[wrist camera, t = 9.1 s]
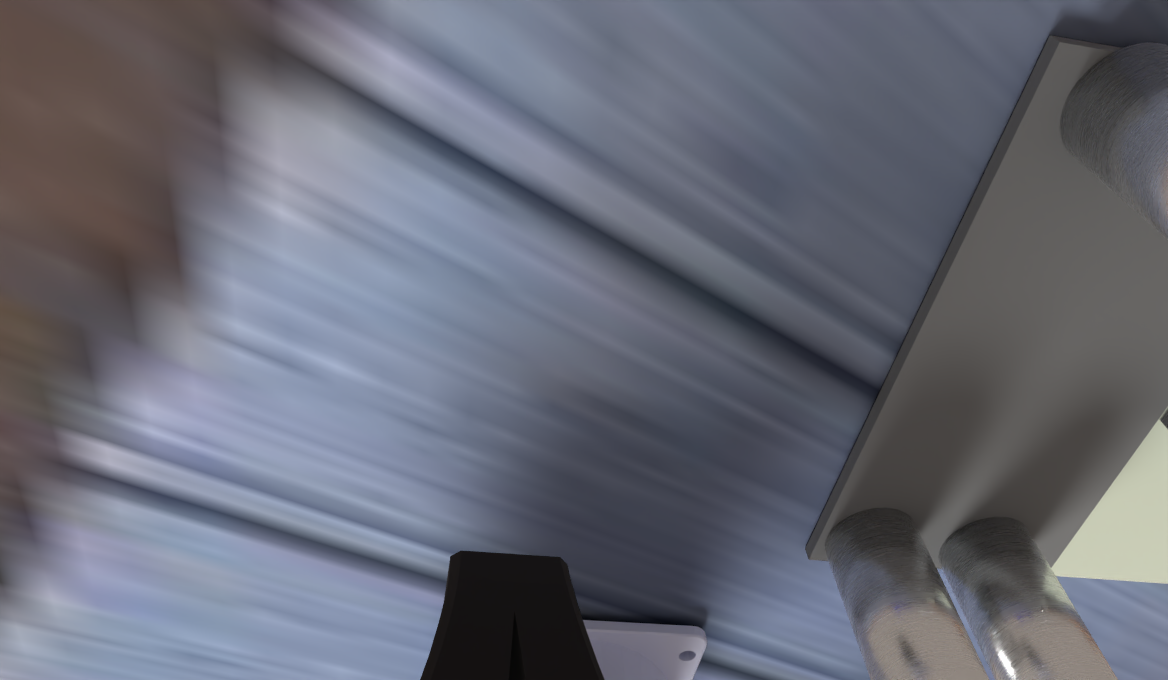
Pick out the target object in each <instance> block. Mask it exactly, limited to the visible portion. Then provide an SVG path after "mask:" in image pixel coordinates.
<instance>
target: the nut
mask: <svg viewBox="0 0 1168 680" xmlns="http://www.w3.org/2000/svg"><path fill="white" fill-rule="evenodd" d="M1159 420H1160V421H1161V422H1162V423H1163V424H1164V425H1165V427H1166V428H1167V429H1168V408H1167V410H1166V411H1165V412H1164V414H1163V415H1162V417H1161V418H1160V419H1159Z"/></svg>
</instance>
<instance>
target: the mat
mask: <svg viewBox="0 0 1168 680" xmlns="http://www.w3.org/2000/svg"><path fill="white" fill-rule="evenodd" d="M1119 49H1121V48H1120V47H1115V46H1109V45H1103V44H1097V43H1092V42H1086V41H1080V40H1074V39H1069V38H1063V37H1057V36H1051V35H1050V36H1049V38H1048V40H1047V42H1046V44H1045V46H1044V49H1043V51H1042V53H1041V55H1040V57H1039V59H1038V61H1037V63H1036V65H1035V67H1034V70H1033V72H1032V74H1031V76H1030V78H1029V80H1028V82H1027V84H1026V86H1025V88H1024V91H1023V93H1022V95H1021V97H1020V99H1019V101H1018V103H1017V105H1016V107H1015V109H1014V112H1013V114H1012V116H1011V118H1010V120H1009V122H1008V124H1007V126H1006V128H1005V130H1004V133H1003V135H1002V137H1001V139H1000V141H999V143H998V145H997V147H996V149H995V151H994V154H993V156H992V158H991V160H990V162H989V164H988V166H987V168H986V170H985V172H984V175H983V177H982V179H981V181H980V183H979V185H978V187H977V189H976V191H975V193H974V195H973V198H972V200H971V202H970V204H969V206H968V208H967V210H966V212H965V214H964V216H963V219H962V221H961V223H960V225H959V227H958V229H957V231H956V233H955V235H954V237H953V240H952V242H951V244H950V246H949V248H948V250H947V252H946V254H945V256H944V258H943V261H942V263H941V265H940V267H939V269H938V271H937V273H936V275H935V277H934V279H933V282H932V284H931V286H930V288H929V290H928V292H927V294H926V296H925V298H924V300H923V303H922V305H921V307H920V309H919V311H918V313H917V315H916V317H915V319H914V321H913V324H912V326H911V328H910V330H909V332H908V334H907V336H906V338H905V340H904V342H903V345H902V347H901V349H900V351H899V353H898V355H897V357H896V359H895V361H894V363H893V366H892V368H891V370H890V372H889V374H888V376H887V378H886V380H885V382H884V384H883V386H882V389H881V391H880V393H879V395H878V397H877V399H876V401H875V403H874V405H873V407H872V410H871V412H870V414H869V416H868V418H867V420H866V422H865V424H864V426H863V428H862V431H861V433H860V435H859V437H858V439H857V441H856V443H855V445H854V447H853V449H852V452H851V454H850V456H849V458H848V460H847V462H846V464H845V466H844V468H843V470H842V473H841V475H840V477H839V479H838V481H837V483H836V485H835V487H834V489H833V491H832V494H831V496H830V498H829V500H828V502H827V504H826V506H825V508H824V510H823V512H822V515H821V517H820V519H819V521H818V523H817V525H816V527H815V529H814V531H813V533H812V536H811V538H810V540H809V542H808V544H807V546H806V548H805V550H806V553H807V556H808V559H809V560H822V561H828V559H827V556H826V553H825V540H826V538H827V536H828V534H829V532H830V531H831V530H832V529H833V528H834V527H835V526H836V525H837V524H838V523H839V522H840V521H842V520H843V519H845V518H846V517H848V516H850V515H852V514H854V513H857V512H860V511H863V510H867V509H872V508H893V509H897V510H900V511H903V512H905V513H906V514H908V515H909V516H910V517H911V518H912V519H913V520H914V522H915V524H916V526H917V528H918V530H919V532H920V535H921V537H922V539H923V541H924V543H925V545H926V547H927V549H928V551H929V554H930V556H931V558H932V560H933V562H934V564H935V566H936V568H939V569H942V567H941V565H940V563H939V558H938V556H939V551H940V548H941V546H942V544H943V543H944V542H945V540H946V539H947V538H948V537H949V536H950V535H951V534H952V533H954V532H955V531H956V530H958V529H959V528H961V527H963V526H965V525H967V524H969V523H971V522H974V521H977V520H980V519H984V518H990V517H1008V518H1012V519H1015V520H1018V521H1020V522H1021V523H1023V524H1024V525H1025V526H1026V528H1027V529H1028V531H1029V532H1030V534H1031V536H1032V537H1033V539H1034V541H1035V542H1036V544H1037V546H1038V547H1039V549H1040V551H1041V552H1042V554H1043V556H1044V557H1045V559H1046V561H1047V562H1048V564H1049V566H1050V567H1051V569H1052V571H1053V572H1054V574H1055V576H1064V577H1079V578H1093V579H1108V580H1123V581H1137V582H1152V583H1167V584H1168V429H1167V428H1166V427H1165V425H1164V424H1163V423H1162V422H1161V421H1160V420H1159V419H1160V418H1161V417H1162V415H1163V414H1164V412H1165V411H1166V410H1167V408H1168V240H1167V239H1166V238H1165V237H1164V236H1163V235H1161V234H1160V233H1159V232H1158V231H1157V230H1156V229H1155V228H1153V227H1152V226H1151V225H1150V224H1149V223H1148V222H1147V221H1146V220H1144V219H1143V218H1142V217H1141V216H1140V215H1139V214H1138V213H1136V212H1135V211H1134V210H1133V209H1132V208H1131V207H1130V206H1128V205H1127V204H1126V203H1125V202H1124V201H1123V200H1122V199H1121V198H1119V197H1118V196H1117V195H1116V194H1115V193H1114V192H1113V191H1111V190H1110V189H1109V188H1108V187H1107V186H1106V185H1105V184H1103V183H1102V182H1101V181H1100V180H1099V179H1098V178H1097V177H1095V176H1094V175H1093V174H1092V173H1091V172H1090V171H1089V170H1088V169H1086V168H1085V167H1084V166H1083V165H1082V164H1081V163H1080V162H1078V161H1077V160H1076V159H1075V158H1074V157H1073V156H1072V155H1071V154H1069V152H1068V151H1067V150H1066V148H1065V147H1064V145H1063V143H1062V139H1061V136H1060V118H1061V113H1062V110H1063V106H1064V104H1065V102H1066V99H1067V97H1068V95H1069V94H1070V92H1071V90H1072V89H1073V87H1074V86H1075V84H1076V83H1077V82H1078V80H1079V79H1080V78H1081V77H1082V76H1083V75H1084V74H1085V73H1086V72H1087V71H1088V70H1089V69H1090V68H1091V67H1092V66H1093V65H1094V64H1096V63H1097V62H1098V61H1099V60H1101V59H1103V58H1104V57H1106V56H1107V55H1109V54H1111V53H1113V52H1115V51H1116V50H1119Z"/></svg>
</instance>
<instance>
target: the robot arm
mask: <svg viewBox="0 0 1168 680" xmlns="http://www.w3.org/2000/svg"><path fill="white" fill-rule="evenodd" d="M706 646H707V639H706V634H705V632H704V630H703V629H701V628H699V627H696V626H686V625H667V624H649V623H631V622H612V621H594V620H583V619H582V616H581V613H580V610H579V606H578V603H577V600H576V597H575V593H574V589H573V586H572V582H571V579H570V575H569V571H568V566H567V564H566V563H565V562H564V561H563V560H562V559H561V558H560V557H549V556H534V555H518V554H503V553H488V552H473V551H460V552H458V553H456V554H454V555H452V556H451V557H450V564H449V571H448V578H447V585H446V592H445V599H444V604H443V608H442V612H441V616H440V620H439V624H438V627H437V631H436V634H435V637H434V641H433V644H432V647H431V651H430V654H429V657H428V660H427V663H426V665H425V668H424V671H423V674H422V676H421V679H420V680H692V679H693V677H694V674H695V672H696V670H697V667H698V665H699V663H700V660H701V658H702V655H703V653H704V651H705V648H706Z"/></svg>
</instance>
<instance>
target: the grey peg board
mask: <svg viewBox="0 0 1168 680" xmlns="http://www.w3.org/2000/svg"><path fill="white" fill-rule="evenodd" d="M1060 136H1061V139H1062V143H1063V145H1064V147H1065V148H1066V150H1067V151H1068V152H1069V154H1071V155H1072V156H1073V157H1074V158H1075V159H1076V160H1077V161H1078V162H1080V163H1081V164H1082V165H1083V166H1084V167H1085V168H1086V169H1088V170H1089V171H1090V172H1091V173H1092V174H1093V175H1094V176H1095V177H1097V178H1098V179H1099V180H1100V181H1101V182H1102V183H1103V184H1105V185H1106V186H1107V187H1108V188H1109V189H1110V190H1111V191H1113V192H1114V193H1115V194H1116V195H1117V196H1118V197H1119V198H1121V199H1122V200H1123V201H1124V202H1125V203H1126V204H1127V205H1128V206H1130V207H1131V208H1132V209H1133V210H1134V211H1135V212H1136V213H1138V214H1139V215H1140V216H1141V217H1142V218H1143V219H1144V220H1146V221H1147V222H1148V223H1149V224H1150V225H1151V226H1152V227H1153V228H1155V229H1156V230H1157V231H1158V232H1159V233H1160V234H1161V235H1163V236H1164V237H1165V238H1166V239H1167V240H1168V45H1167V44H1163V43H1156V42H1144V43H1138V44H1133V45H1130V46H1126V47H1124V48H1121V49H1119V50H1116V51H1115V52H1113V53H1111V54H1109V55H1107V56H1106V57H1104V58H1103V59H1101V60H1099V61H1098V62H1097V63H1096V64H1094V65H1093V66H1092V67H1091V68H1090V69H1089V70H1088V71H1087V72H1086V73H1085V74H1084V75H1083V76H1082V77H1081V78H1080V79H1079V80H1078V82H1077V83H1076V84H1075V86H1074V87H1073V89H1072V90H1071V92H1070V94H1069V95H1068V97H1067V99H1066V102H1065V104H1064V106H1063V110H1062V113H1061V118H1060ZM825 553H826V556H827V559H828V561H829V564H830V567H831V570H832V573H833V575H834V578H835V581H836V584H837V587H838V589H839V592H840V595H841V598H842V601H843V603H844V606H845V609H846V612H847V615H848V617H849V620H850V623H851V626H852V629H853V631H854V634H855V637H856V640H857V642H858V645H859V648H860V651H861V654H862V656H863V659H864V662H865V665H866V668H867V670H868V673H869V676H870V679H871V680H989V678H988V676H987V674H986V672H985V670H984V668H983V665H982V663H981V661H980V659H979V657H978V655H977V653H976V651H975V649H974V646H973V644H972V642H971V640H970V638H969V636H968V634H967V632H966V630H965V627H964V625H963V623H962V621H961V619H960V617H959V615H958V613H957V611H956V608H955V606H954V604H953V602H952V600H951V598H950V596H949V594H948V592H947V589H946V587H945V585H944V583H943V581H942V579H941V577H940V575H939V573H938V570H937V568H936V566H935V564H934V562H933V560H932V558H931V556H930V554H929V551H928V549H927V547H926V545H925V543H924V541H923V539H922V537H921V535H920V532H919V530H918V528H917V526H916V524H915V522H914V520H913V519H912V518H911V517H910V516H909V515H908V514H906V513H905V512H903V511H900V510H897V509H893V508H872V509H867V510H863V511H860V512H857V513H854V514H852V515H850V516H848V517H846V518H845V519H843V520H842V521H840V522H839V523H838V524H837V525H836V526H835V527H834V528H833V529H832V530H831V531H830V532H829V534H828V536H827V538H826V540H825ZM938 558H939V563H940V565H941V567H942V570H943V572H944V574H945V576H946V578H947V580H948V582H949V584H950V586H951V588H952V590H953V592H954V595H955V597H956V599H957V601H958V603H959V605H960V607H961V609H962V611H963V613H964V615H965V617H966V620H967V622H968V624H969V626H970V628H971V630H972V632H973V634H974V636H975V638H976V640H977V642H978V645H979V647H980V649H981V651H982V653H983V655H984V657H985V659H986V661H987V663H988V665H989V668H990V670H991V672H992V674H993V676H994V678H995V680H1118V679H1117V677H1116V676H1115V674H1114V672H1113V671H1112V669H1111V667H1110V666H1109V664H1108V662H1107V661H1106V659H1105V657H1104V656H1103V654H1102V652H1101V651H1100V649H1099V647H1098V646H1097V644H1096V642H1095V641H1094V639H1093V637H1092V636H1091V634H1090V632H1089V631H1088V629H1087V627H1086V626H1085V624H1084V622H1083V621H1082V619H1081V617H1080V616H1079V614H1078V612H1077V611H1076V609H1075V607H1074V606H1073V604H1072V602H1071V601H1070V599H1069V597H1068V596H1067V594H1066V592H1065V591H1064V589H1063V587H1062V586H1061V584H1060V582H1059V581H1058V579H1057V577H1056V576H1055V574H1054V572H1053V571H1052V569H1051V567H1050V566H1049V564H1048V562H1047V561H1046V559H1045V557H1044V556H1043V554H1042V552H1041V551H1040V549H1039V547H1038V546H1037V544H1036V542H1035V541H1034V539H1033V537H1032V536H1031V534H1030V532H1029V531H1028V529H1027V528H1026V526H1025V525H1024V524H1023V523H1021V522H1020V521H1018V520H1015V519H1012V518H1008V517H990V518H984V519H980V520H977V521H974V522H971V523H969V524H967V525H965V526H963V527H961V528H959V529H958V530H956V531H955V532H954V533H952V534H951V535H950V536H949V537H948V538H947V539H946V540H945V542H944V543H943V544H942V546H941V548H940V551H939V556H938Z"/></svg>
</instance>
